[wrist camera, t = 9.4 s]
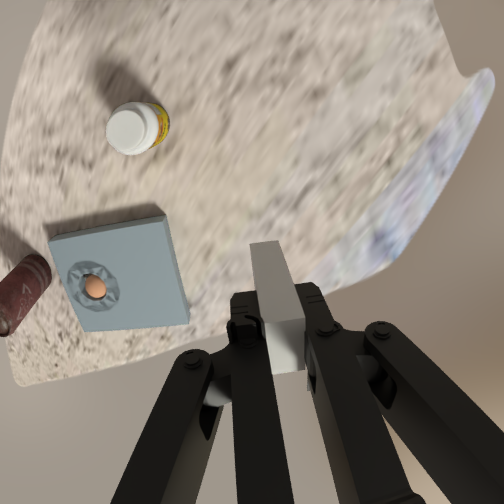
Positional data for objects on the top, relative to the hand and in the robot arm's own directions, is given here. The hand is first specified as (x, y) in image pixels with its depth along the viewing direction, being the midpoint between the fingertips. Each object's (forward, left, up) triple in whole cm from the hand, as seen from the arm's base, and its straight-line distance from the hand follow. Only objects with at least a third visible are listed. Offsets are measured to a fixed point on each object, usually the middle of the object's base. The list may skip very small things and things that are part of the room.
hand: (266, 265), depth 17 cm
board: (+12, -20, -24) cm, 33 cm away
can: (+9, -35, -24) cm, 43 cm away
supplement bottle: (-8, -11, -24) cm, 28 cm away
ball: (+12, -23, -22) cm, 34 cm away
